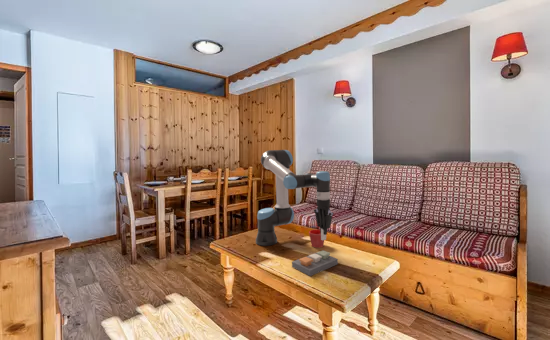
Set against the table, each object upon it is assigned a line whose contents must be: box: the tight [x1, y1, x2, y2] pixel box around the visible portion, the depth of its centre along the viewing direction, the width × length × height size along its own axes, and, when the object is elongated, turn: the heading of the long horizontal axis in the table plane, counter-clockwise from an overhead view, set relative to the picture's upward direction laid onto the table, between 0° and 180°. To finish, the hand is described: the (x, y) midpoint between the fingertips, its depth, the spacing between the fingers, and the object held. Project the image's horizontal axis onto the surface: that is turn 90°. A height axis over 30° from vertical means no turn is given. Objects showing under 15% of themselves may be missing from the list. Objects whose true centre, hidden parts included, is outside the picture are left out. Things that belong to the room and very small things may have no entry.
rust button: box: [298, 256, 313, 266], centre depth 142 cm, size 5×5×3 cm
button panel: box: [291, 252, 339, 277], centre depth 147 cm, size 14×22×3 cm, turn 128°
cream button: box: [307, 253, 322, 263], centre depth 147 cm, size 5×5×3 cm
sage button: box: [316, 250, 331, 259], centre depth 151 cm, size 5×5×3 cm
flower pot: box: [308, 229, 325, 249], centre depth 176 cm, size 11×11×10 cm
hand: (323, 239), depth 150 cm, fingers closed
